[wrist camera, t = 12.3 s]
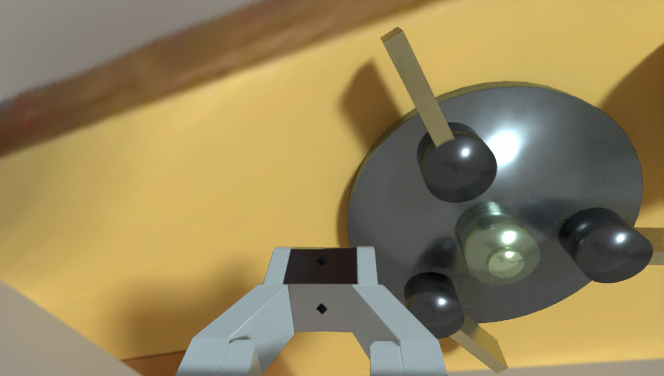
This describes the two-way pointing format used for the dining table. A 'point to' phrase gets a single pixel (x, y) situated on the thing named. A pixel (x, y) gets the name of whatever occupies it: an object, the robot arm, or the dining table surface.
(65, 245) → the dining table surface
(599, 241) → the knob
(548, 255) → the tribrach plate
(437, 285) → the knob
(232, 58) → the dining table surface
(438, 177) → the knob
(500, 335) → the dining table surface
